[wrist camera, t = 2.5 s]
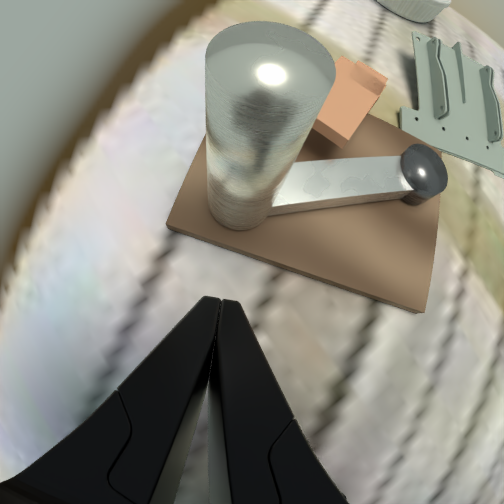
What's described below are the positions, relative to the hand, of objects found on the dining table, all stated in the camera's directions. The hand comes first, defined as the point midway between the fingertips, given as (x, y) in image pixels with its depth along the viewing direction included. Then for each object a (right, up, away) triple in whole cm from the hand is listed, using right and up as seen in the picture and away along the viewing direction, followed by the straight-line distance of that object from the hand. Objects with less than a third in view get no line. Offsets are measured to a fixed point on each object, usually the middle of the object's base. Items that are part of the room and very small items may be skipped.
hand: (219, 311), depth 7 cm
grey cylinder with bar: (+6, +5, +12) cm, 14 cm away
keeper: (+6, +10, +14) cm, 18 cm away
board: (+6, +6, +13) cm, 15 cm away
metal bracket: (+20, +15, +18) cm, 31 cm away
